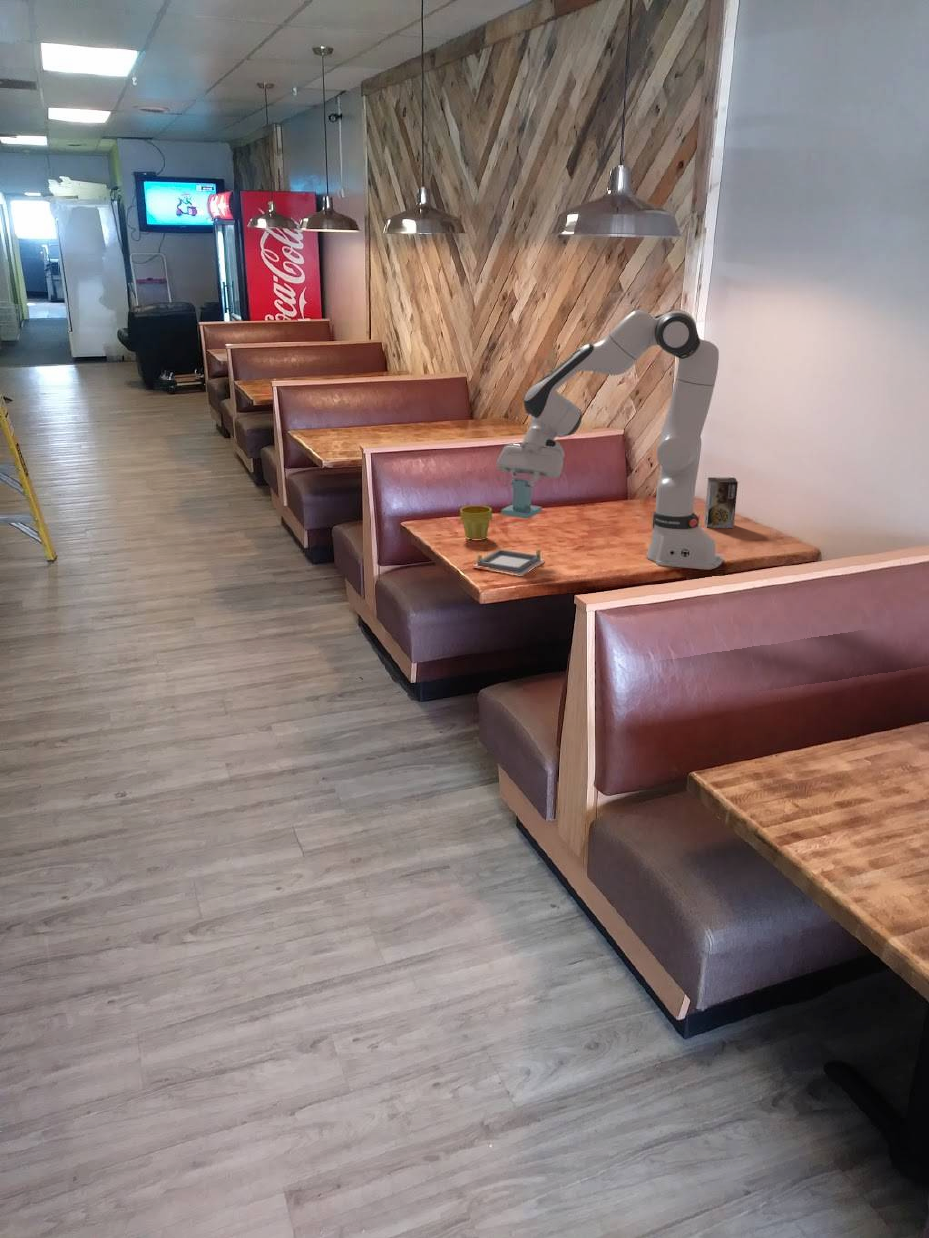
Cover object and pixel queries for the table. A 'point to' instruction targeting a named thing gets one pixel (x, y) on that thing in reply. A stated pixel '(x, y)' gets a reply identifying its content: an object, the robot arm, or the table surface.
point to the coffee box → (721, 502)
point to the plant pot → (476, 521)
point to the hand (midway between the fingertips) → (521, 485)
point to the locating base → (510, 561)
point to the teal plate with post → (521, 501)
